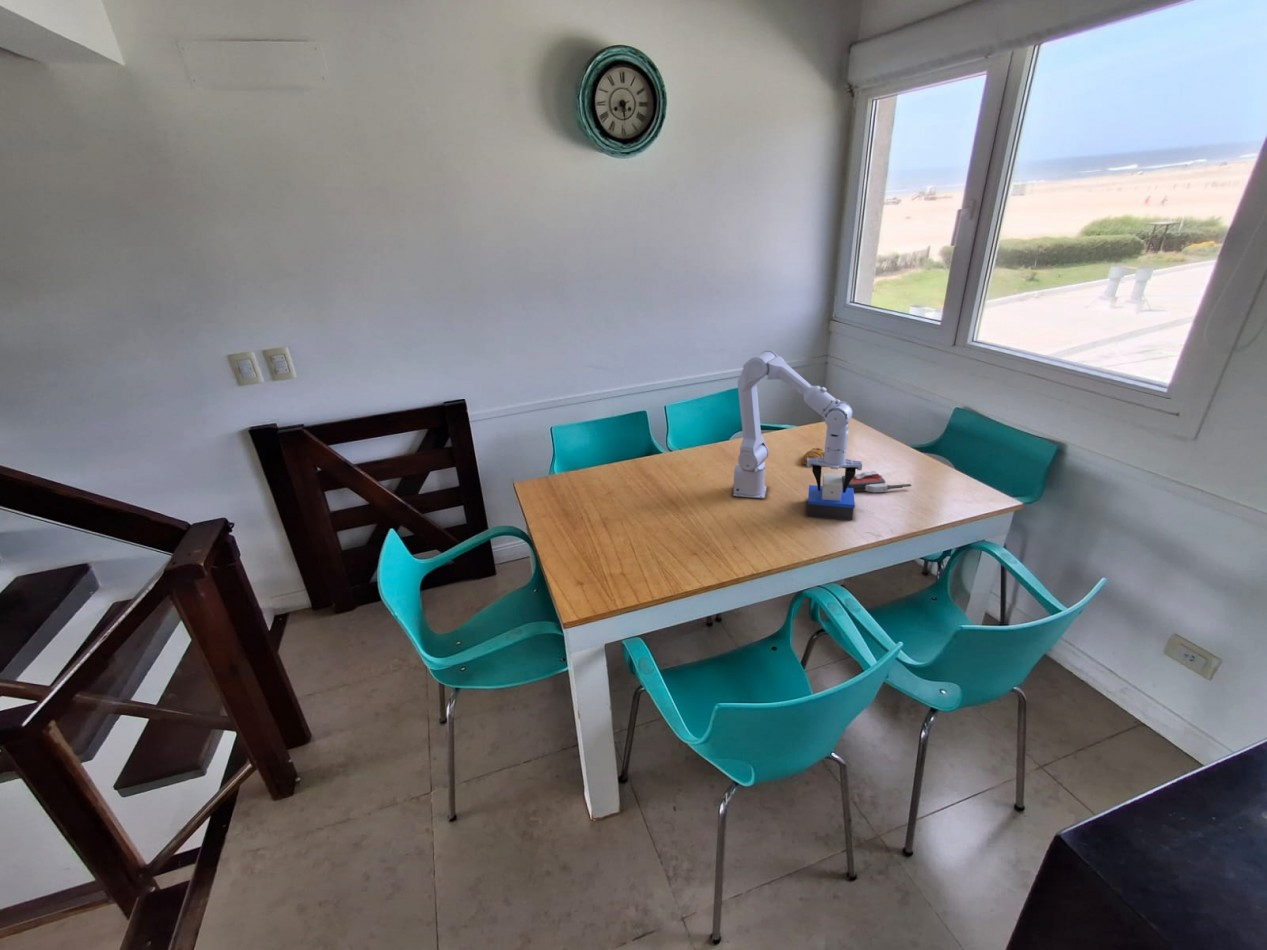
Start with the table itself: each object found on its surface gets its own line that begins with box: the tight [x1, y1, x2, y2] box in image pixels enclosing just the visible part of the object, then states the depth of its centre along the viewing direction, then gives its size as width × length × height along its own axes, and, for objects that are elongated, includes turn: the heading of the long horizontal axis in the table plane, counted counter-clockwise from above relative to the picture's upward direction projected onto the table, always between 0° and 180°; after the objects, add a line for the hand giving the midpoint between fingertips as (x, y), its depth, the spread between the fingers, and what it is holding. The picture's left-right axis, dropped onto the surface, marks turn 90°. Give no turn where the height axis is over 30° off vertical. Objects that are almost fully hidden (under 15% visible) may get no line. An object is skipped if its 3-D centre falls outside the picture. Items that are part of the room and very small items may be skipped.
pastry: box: [802, 447, 825, 465], centre depth 192 cm, size 9×7×4 cm
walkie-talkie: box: [842, 470, 912, 494], centre depth 172 cm, size 9×4×20 cm
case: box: [821, 472, 843, 501], centre depth 159 cm, size 7×5×5 cm
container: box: [807, 484, 856, 521], centre depth 161 cm, size 12×10×5 cm
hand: (831, 490), depth 160 cm, fingers open, 6 cm apart
